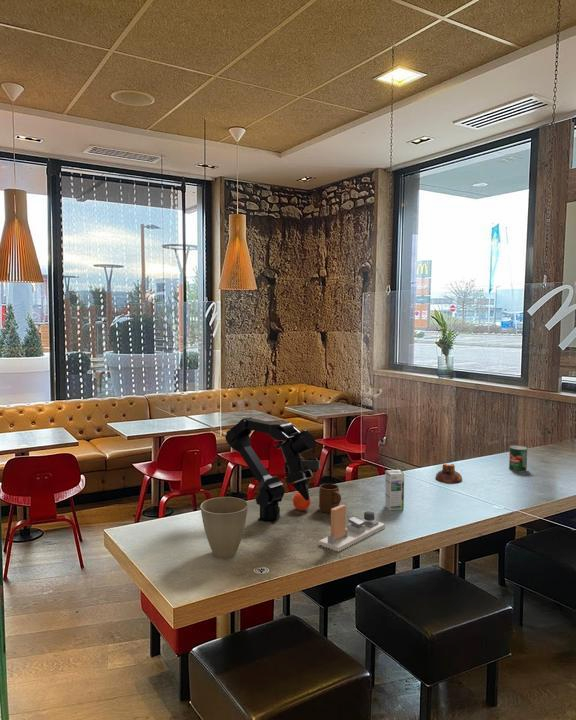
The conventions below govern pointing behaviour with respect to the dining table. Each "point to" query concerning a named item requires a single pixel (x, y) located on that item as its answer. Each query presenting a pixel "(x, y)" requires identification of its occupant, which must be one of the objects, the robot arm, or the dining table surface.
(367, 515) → the push button
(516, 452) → the canned tomato
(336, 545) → the switch console
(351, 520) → the rocker
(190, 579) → the dining table surface
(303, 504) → the clementine
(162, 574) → the dining table surface
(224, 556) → the plant pot
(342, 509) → the paddle
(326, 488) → the mug
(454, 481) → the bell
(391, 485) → the syrup box
